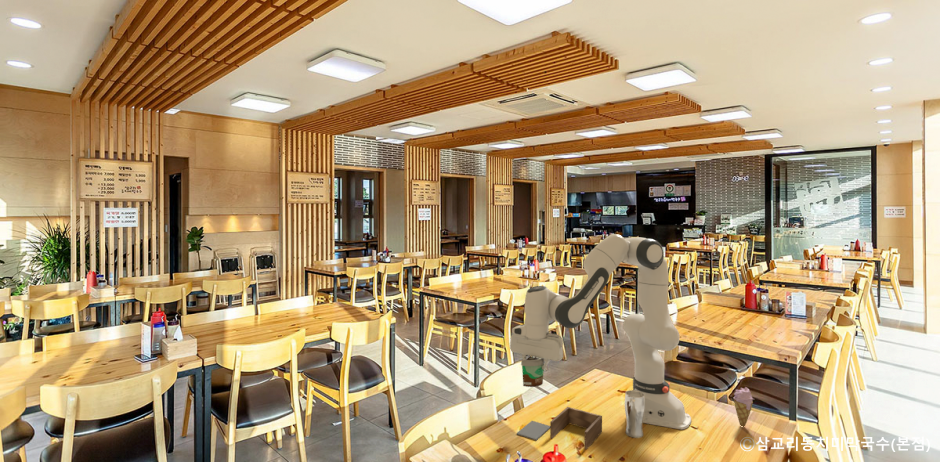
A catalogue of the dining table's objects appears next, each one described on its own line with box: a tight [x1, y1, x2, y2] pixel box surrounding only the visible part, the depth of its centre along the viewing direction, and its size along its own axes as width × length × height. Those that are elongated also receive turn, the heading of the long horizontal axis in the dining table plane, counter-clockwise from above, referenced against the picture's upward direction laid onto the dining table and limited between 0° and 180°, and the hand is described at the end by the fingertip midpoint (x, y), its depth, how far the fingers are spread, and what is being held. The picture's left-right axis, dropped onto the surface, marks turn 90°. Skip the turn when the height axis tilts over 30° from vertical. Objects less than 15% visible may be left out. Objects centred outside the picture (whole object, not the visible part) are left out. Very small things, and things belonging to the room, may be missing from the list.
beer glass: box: [624, 389, 645, 439], centre depth 167 cm, size 7×7×15 cm
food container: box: [520, 356, 545, 388], centre depth 168 cm, size 12×6×10 cm, turn 145°
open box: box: [549, 406, 603, 450], centre depth 166 cm, size 14×15×6 cm
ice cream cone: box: [732, 386, 755, 428], centre depth 172 cm, size 7×6×15 cm
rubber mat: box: [516, 420, 550, 441], centre depth 169 cm, size 8×12×1 cm, turn 145°
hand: (535, 368), depth 168 cm, fingers closed on food container, 5 cm apart
